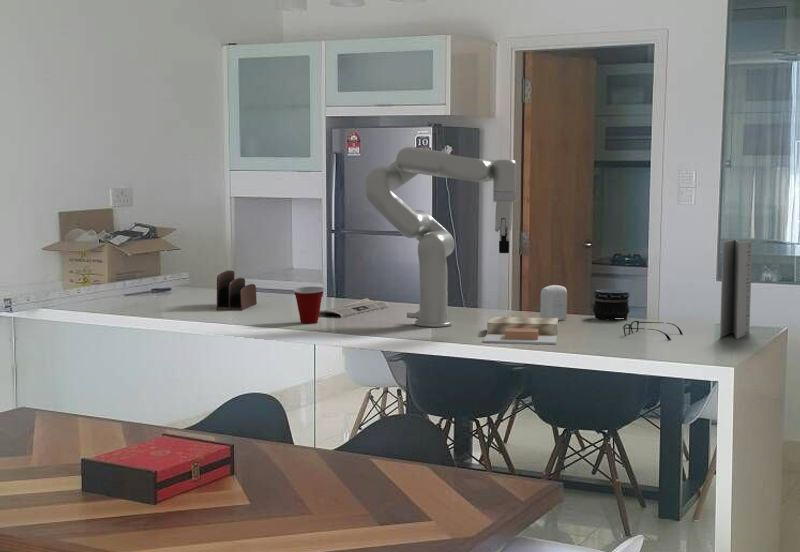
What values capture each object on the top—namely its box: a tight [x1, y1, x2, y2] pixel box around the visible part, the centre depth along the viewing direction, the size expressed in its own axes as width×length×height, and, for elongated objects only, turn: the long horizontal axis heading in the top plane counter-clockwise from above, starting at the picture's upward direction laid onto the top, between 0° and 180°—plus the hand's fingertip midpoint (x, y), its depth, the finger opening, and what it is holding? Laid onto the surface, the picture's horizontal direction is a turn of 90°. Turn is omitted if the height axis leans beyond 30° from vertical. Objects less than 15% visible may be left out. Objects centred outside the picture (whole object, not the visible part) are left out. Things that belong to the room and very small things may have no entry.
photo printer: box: [539, 284, 568, 321], centre depth 374 cm, size 10×4×12 cm, turn 123°
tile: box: [505, 328, 539, 340], centre depth 331 cm, size 10×7×2 cm
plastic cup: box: [292, 286, 325, 325], centre depth 368 cm, size 11×11×12 cm
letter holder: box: [216, 269, 257, 312], centre depth 411 cm, size 10×20×14 cm, turn 171°
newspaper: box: [319, 297, 390, 319], centre depth 399 cm, size 35×12×4 cm, turn 150°
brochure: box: [719, 239, 753, 340], centre depth 339 cm, size 14×6×30 cm, turn 148°
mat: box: [482, 333, 558, 346], centre depth 331 cm, size 22×14×1 cm, turn 81°
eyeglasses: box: [622, 320, 684, 341], centre depth 340 cm, size 16×16×4 cm
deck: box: [486, 316, 559, 337], centre depth 346 cm, size 22×14×4 cm, turn 81°
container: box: [592, 289, 631, 321], centre depth 379 cm, size 13×13×10 cm
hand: (504, 252), depth 353 cm, fingers closed
